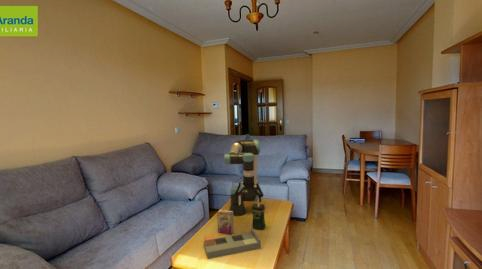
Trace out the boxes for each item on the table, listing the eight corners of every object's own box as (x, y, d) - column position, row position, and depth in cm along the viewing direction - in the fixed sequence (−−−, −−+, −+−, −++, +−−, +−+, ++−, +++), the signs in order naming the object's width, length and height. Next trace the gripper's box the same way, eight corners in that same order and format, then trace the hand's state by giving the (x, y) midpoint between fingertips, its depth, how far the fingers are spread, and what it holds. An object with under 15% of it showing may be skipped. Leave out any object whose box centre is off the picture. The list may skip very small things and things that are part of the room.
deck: (203, 244, 165) (203, 236, 164) (252, 235, 175) (252, 228, 174) (207, 258, 149) (207, 250, 148) (260, 248, 159) (260, 240, 158)
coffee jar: (266, 226, 189) (266, 203, 187) (263, 230, 181) (262, 207, 180) (254, 223, 193) (254, 201, 191) (251, 228, 185) (250, 205, 184)
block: (204, 241, 164) (204, 235, 163) (213, 239, 166) (213, 234, 165) (206, 246, 158) (205, 240, 158) (215, 244, 160) (214, 238, 159)
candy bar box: (217, 232, 180) (216, 211, 178) (220, 229, 185) (219, 208, 183) (231, 235, 176) (231, 213, 175) (234, 231, 181) (233, 210, 179)
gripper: (229, 176, 166) (230, 205, 169) (265, 178, 160) (265, 209, 162) (233, 173, 174) (233, 201, 176) (267, 175, 167) (267, 204, 169)
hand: (249, 205), depth 169 cm, fingers open, 13 cm apart
